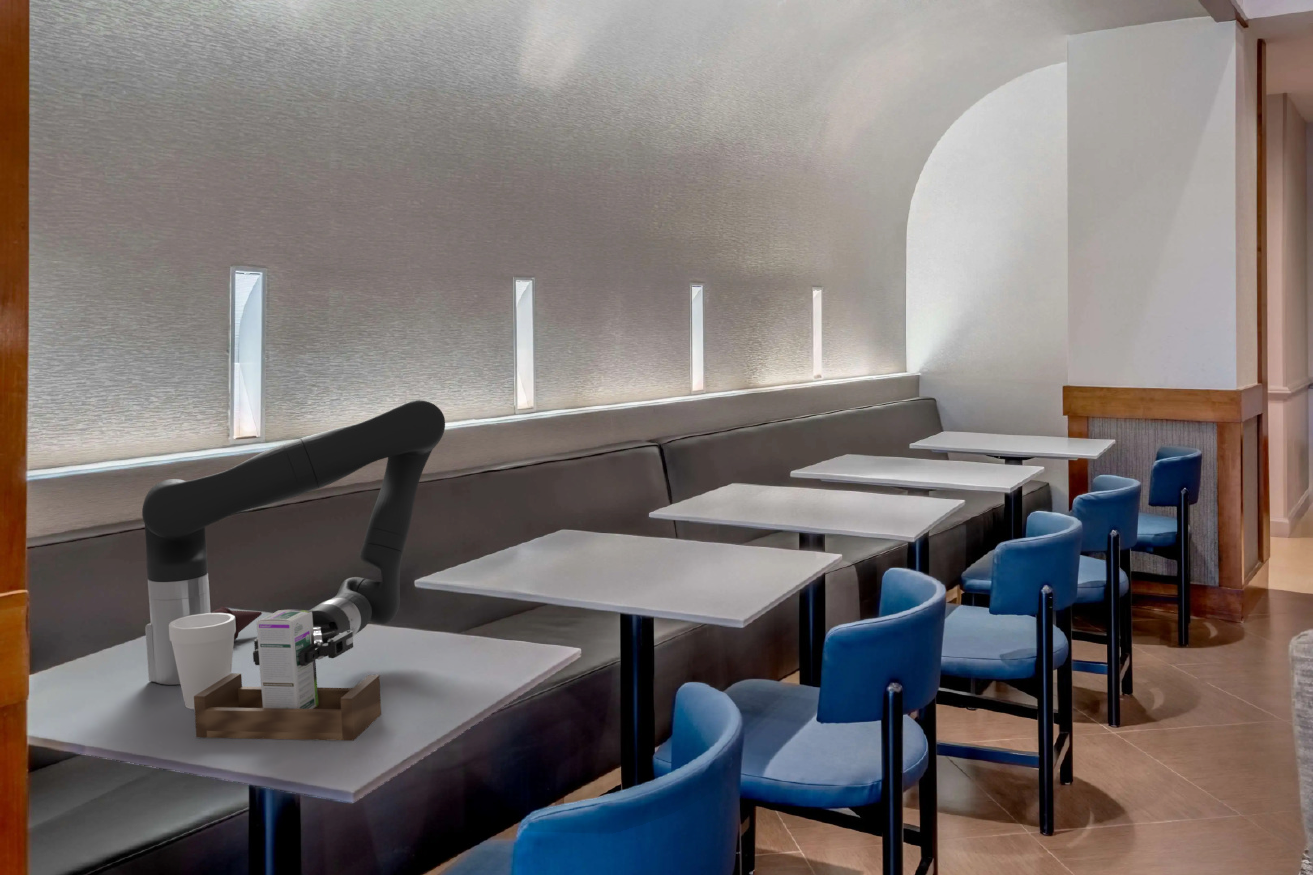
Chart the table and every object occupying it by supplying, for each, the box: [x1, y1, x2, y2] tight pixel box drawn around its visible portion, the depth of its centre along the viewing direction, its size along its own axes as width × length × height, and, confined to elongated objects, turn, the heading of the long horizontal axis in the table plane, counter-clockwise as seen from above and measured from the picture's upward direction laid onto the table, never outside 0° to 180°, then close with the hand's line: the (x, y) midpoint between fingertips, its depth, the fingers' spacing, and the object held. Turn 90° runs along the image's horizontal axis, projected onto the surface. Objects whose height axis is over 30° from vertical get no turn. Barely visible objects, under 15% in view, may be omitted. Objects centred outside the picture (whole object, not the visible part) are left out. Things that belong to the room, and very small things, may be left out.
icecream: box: [210, 606, 263, 641], centre depth 201 cm, size 7×7×15 cm
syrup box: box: [256, 609, 319, 709], centre depth 154 cm, size 6×6×14 cm
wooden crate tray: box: [194, 672, 382, 742], centre depth 154 cm, size 23×10×6 cm, turn 83°
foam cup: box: [169, 613, 236, 710], centre depth 165 cm, size 10×9×13 cm
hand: (279, 658), depth 151 cm, fingers open, 6 cm apart
